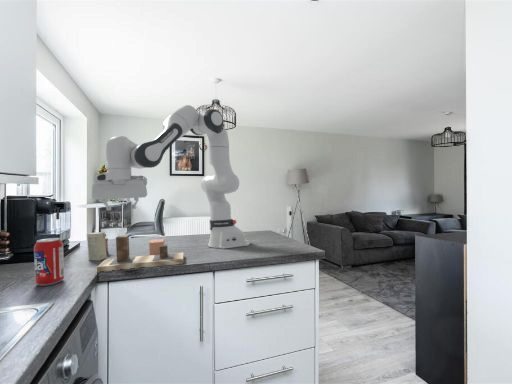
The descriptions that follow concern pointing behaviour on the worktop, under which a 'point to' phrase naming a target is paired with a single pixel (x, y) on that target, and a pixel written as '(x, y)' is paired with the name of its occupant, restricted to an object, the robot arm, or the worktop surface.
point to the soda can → (48, 261)
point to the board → (145, 261)
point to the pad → (122, 262)
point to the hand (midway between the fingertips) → (121, 209)
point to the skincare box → (96, 246)
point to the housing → (155, 246)
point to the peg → (122, 248)
